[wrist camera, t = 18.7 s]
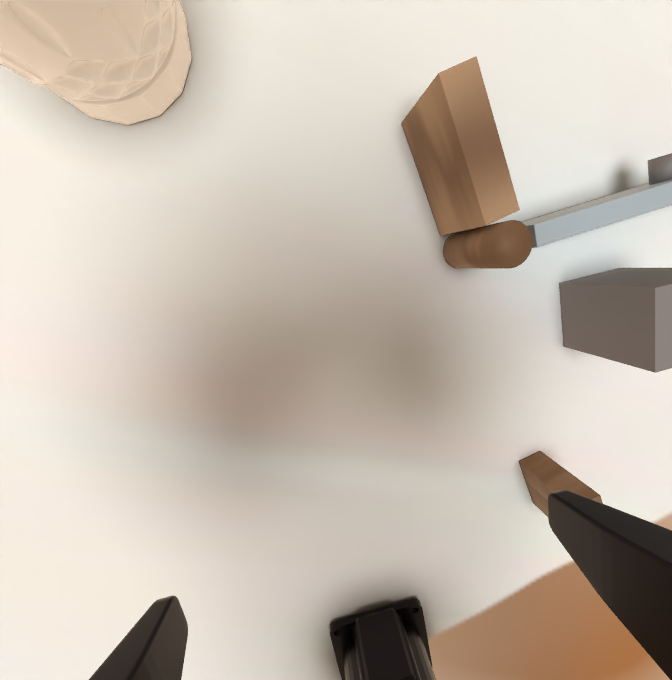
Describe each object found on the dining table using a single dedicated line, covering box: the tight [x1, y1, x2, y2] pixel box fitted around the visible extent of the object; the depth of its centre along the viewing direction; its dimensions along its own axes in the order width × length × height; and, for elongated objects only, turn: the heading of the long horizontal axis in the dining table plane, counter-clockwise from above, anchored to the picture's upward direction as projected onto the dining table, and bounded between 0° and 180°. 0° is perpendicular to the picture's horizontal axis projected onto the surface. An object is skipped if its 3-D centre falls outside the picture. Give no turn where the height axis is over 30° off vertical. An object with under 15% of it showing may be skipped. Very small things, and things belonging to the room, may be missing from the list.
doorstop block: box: [559, 268, 672, 372], centre depth 18 cm, size 4×4×6 cm
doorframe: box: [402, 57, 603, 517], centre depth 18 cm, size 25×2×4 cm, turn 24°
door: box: [522, 153, 672, 248], centre depth 17 cm, size 13×2×4 cm, turn 106°
